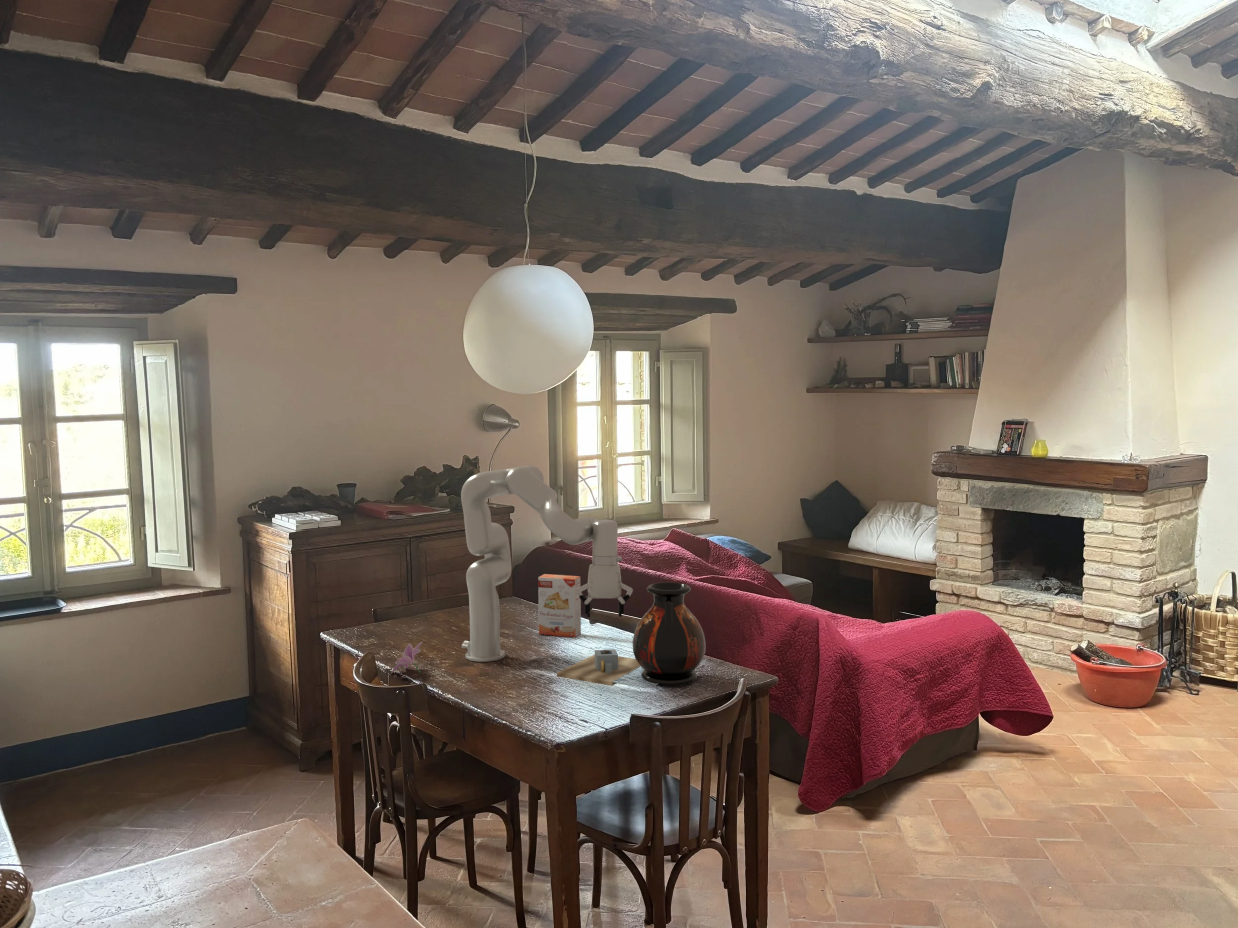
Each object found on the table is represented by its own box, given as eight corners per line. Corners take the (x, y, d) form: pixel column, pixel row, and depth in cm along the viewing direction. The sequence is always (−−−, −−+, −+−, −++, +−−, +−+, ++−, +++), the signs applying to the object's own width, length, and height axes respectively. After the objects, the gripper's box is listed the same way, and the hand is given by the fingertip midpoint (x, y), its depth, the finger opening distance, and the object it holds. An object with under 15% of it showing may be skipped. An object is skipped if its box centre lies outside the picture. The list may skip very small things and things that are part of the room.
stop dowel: (600, 672, 278) (600, 660, 278) (602, 671, 279) (602, 659, 279) (603, 672, 277) (603, 661, 277) (605, 671, 278) (605, 660, 278)
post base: (556, 676, 278) (556, 656, 277) (597, 656, 299) (597, 637, 298) (612, 685, 269) (611, 664, 268) (650, 664, 290) (649, 645, 289)
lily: (427, 668, 291) (413, 641, 292) (440, 661, 282) (425, 634, 282) (394, 687, 284) (380, 659, 284) (407, 681, 275) (391, 653, 275)
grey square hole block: (594, 664, 286) (594, 650, 286) (615, 663, 287) (615, 649, 287) (598, 673, 277) (598, 658, 276) (619, 672, 278) (619, 657, 277)
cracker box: (538, 635, 326) (537, 576, 325) (544, 630, 332) (544, 573, 331) (575, 638, 322) (574, 578, 321) (581, 633, 328) (580, 575, 326)
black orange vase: (634, 668, 286) (633, 578, 284) (704, 669, 284) (704, 579, 282) (630, 690, 264) (630, 593, 262) (706, 691, 263) (706, 594, 261)
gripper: (631, 558, 286) (631, 612, 287) (575, 558, 284) (575, 613, 285) (634, 562, 278) (633, 618, 280) (576, 563, 276) (576, 619, 278)
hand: (604, 616), depth 282 cm, fingers open, 9 cm apart
